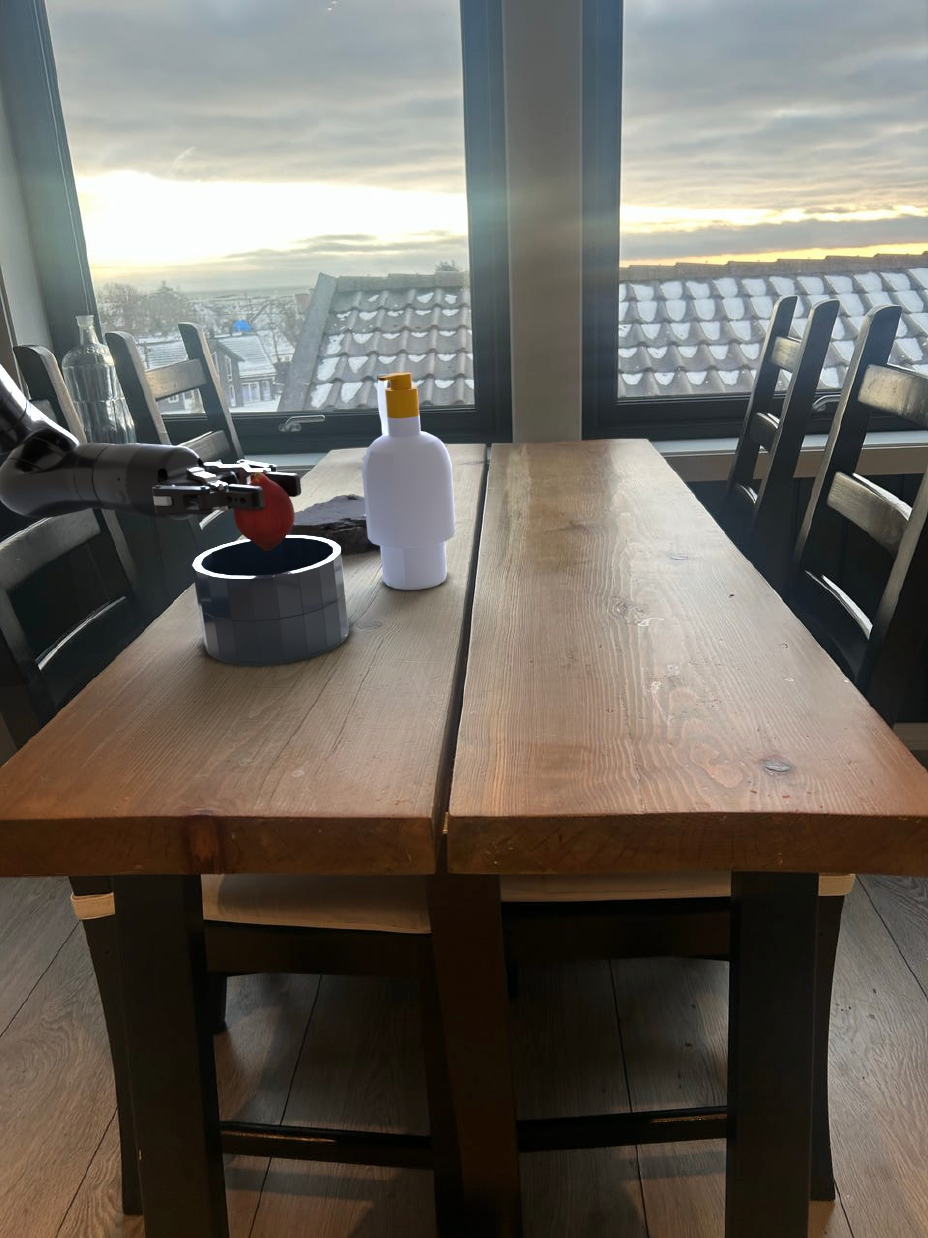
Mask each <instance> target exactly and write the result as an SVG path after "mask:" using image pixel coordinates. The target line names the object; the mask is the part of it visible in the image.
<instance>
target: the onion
mask: <svg viewBox="0 0 928 1238" xmlns="http://www.w3.org/2000/svg"><path fill="white" fill-rule="evenodd" d="M251 476H252V477H253V479H252V482H251V483H249V484H248V485H247V486H258V487H261V488H262V489H263V493H264V501H265V507H264V509H262V510H259V511H252V510H242V509H233V519H234V521H235V526H236V528H237V529H238V530H239V532H240V534H241V535H242V536H243V537H245V538H246V540H248V539H249V540H250V541H252V542H254V543H255V544H257V545H258V546H260V547H261V548H262V549H264V550H272V549H273V548H274V547H275V546H276V545H277V544H279V543H280V542H281V541H282V540H283V539H284V538H285V537H286V536H287V535H288V533H289V532H290V531H291V529H292V526H293V523H294V515H295V512H296V511H295V507H294V503H293V502H292V499H291V497H289V495H288V494H287V493H286V491H285V490H284V489H283V488H282V487H280V486H279V485H278V484H277V483H275V482H273V481H271V480H270V479H268V478H267V477H266V476H265V475H264V474H262V473H261V472H254V473H253V474H252V475H251Z"/></svg>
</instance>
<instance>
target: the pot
mask: <svg viewBox="0 0 928 1238" xmlns="http://www.w3.org/2000/svg"><path fill="white" fill-rule="evenodd" d="M191 569H192V574H193V581H194V586H195V594H196V600H197V606H198V613H199V618H200V625H201V626H200V627H201V632H202V639H203V644H204V646H205V650H206V652H207V654H208V655H209V656H210V657H212V658H213V659H215V660H218V661H220V662H223V663H227V664H232V665H238V666H251V667H252V666H254V667H255V666H256V667H257V666H258V667H259V666H273V665H274V666H275V665H283V664H284V665H285V664H289V663H290V664H291V663H295V662H299V661H304V660H308V659H311V658H315V657H317V656H321V655H323V654H325V653H327V652H330V651H332V650H334V649H336V648H337V647H339V646H341V644H343V643H344V642H345V641H346V639H347V638H348V636H349V633H350V628H349V626H350V625H349V613H348V605H347V596H346V595H347V594H346V584H345V574H344V564H343V555H342V553H341V547H340V546H339V545H338V544H336V543H335V542H334V541H331V540H327V539H324V538H319V537H311V536H286V537H285V538H284V539H283V540H282V541H281V542H280V543H279V544H277V545H276V546H275V547H274V548H273V549H272V550H264V549H262V548H261V547H260V546H258V545H257V544H255V543H254V542H252V541H250V540H249V539H242V540H238V541H233V542H229V543H226V544H222V545H219V546H217V547H214V548H211V549H208V550H206V551H204V552H202V553H201V554H200V555H198V556H197V557H195V559H194V560H193V562H192V564H191Z"/></svg>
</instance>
